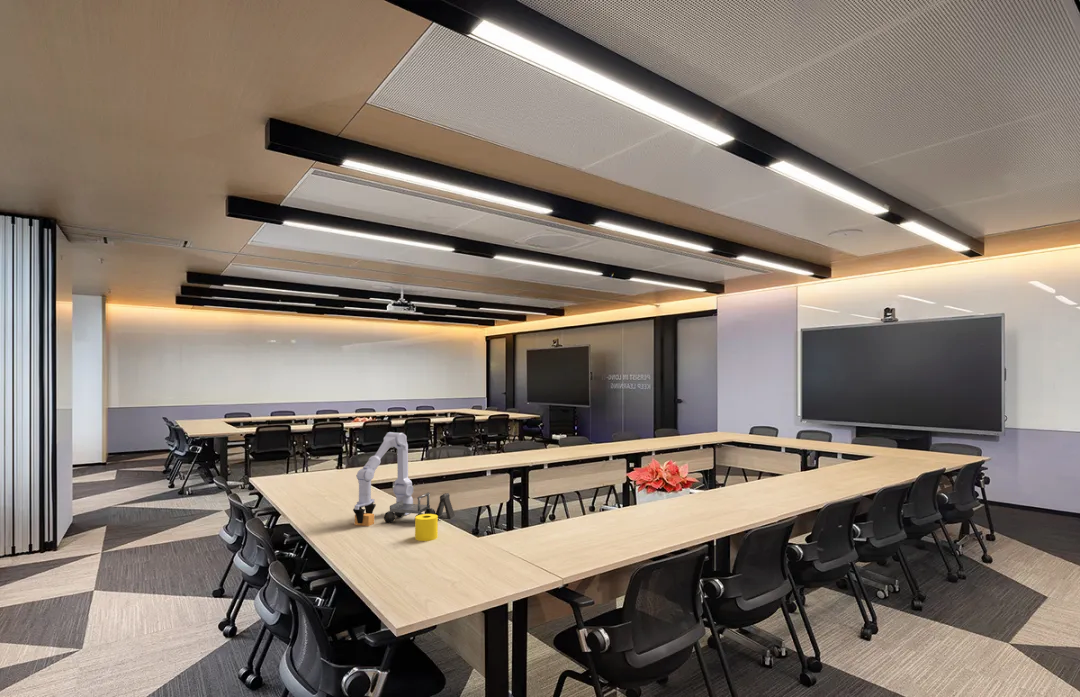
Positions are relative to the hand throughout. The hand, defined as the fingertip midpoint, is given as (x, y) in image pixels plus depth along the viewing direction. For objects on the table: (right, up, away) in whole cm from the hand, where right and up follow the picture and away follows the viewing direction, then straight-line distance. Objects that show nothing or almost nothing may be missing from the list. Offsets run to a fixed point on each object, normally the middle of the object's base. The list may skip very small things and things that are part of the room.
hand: (364, 521), depth 269 cm
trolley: (+21, -2, +6) cm, 22 cm away
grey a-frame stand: (+37, -2, +13) cm, 40 cm away
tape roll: (+35, -1, -23) cm, 42 cm away
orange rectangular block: (0, -2, 0) cm, 2 cm away
